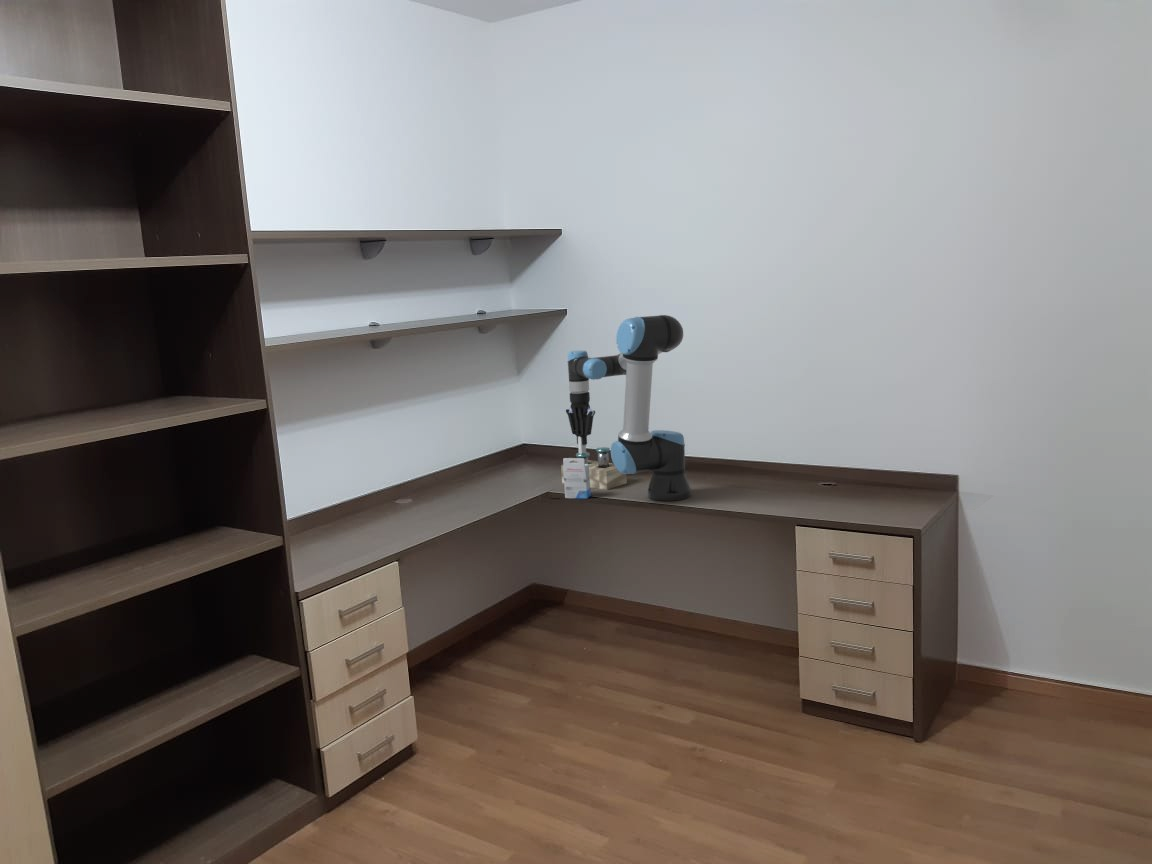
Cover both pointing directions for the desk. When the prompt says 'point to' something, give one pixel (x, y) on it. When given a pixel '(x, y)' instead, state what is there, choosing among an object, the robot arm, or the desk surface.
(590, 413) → the robot arm
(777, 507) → the desk surface
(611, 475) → the socket block
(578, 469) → the ink box
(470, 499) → the desk surface
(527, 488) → the desk surface
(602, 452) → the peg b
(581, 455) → the teal lidded jar
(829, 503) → the desk surface
